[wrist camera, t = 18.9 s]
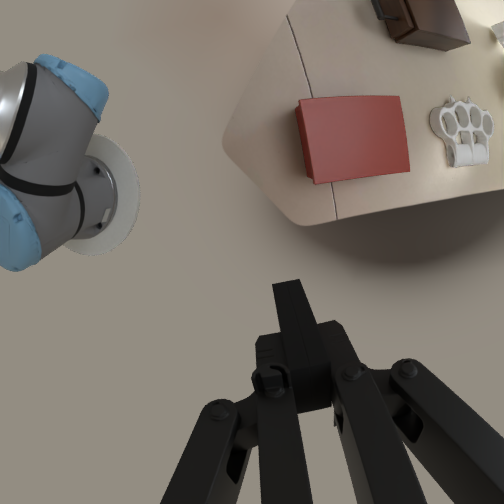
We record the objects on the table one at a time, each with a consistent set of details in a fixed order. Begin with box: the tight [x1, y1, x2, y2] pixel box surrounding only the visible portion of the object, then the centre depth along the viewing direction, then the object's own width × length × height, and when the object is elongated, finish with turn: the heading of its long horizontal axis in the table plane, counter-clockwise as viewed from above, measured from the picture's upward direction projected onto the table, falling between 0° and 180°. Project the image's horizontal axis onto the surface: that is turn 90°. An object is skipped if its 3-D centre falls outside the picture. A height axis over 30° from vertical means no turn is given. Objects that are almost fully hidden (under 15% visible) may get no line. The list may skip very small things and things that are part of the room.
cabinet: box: [394, 0, 471, 51], centre depth 29 cm, size 14×12×9 cm
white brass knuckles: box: [430, 95, 494, 168], centre depth 39 cm, size 3×18×15 cm
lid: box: [298, 96, 410, 185], centre depth 34 cm, size 16×12×1 cm
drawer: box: [371, 0, 415, 39], centre depth 29 cm, size 17×10×7 cm, turn 101°
